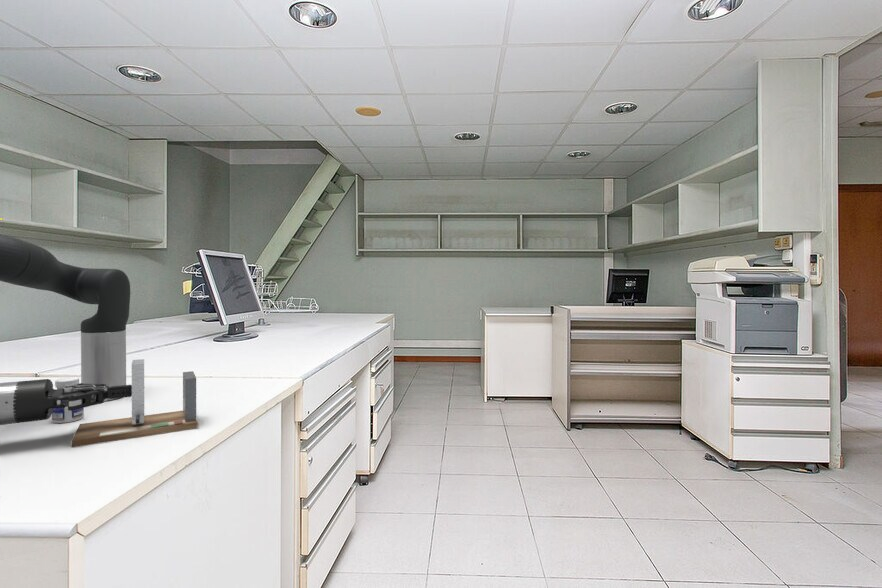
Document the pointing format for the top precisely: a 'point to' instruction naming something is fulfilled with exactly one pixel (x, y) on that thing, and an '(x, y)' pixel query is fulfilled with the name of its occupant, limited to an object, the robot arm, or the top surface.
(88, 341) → the robot arm
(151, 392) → the top surface
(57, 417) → the pill bottle
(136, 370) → the brushed steel sheet
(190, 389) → the grey wood-grain slab
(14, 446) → the top surface
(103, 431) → the brown wooden base board
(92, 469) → the top surface
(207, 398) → the top surface
